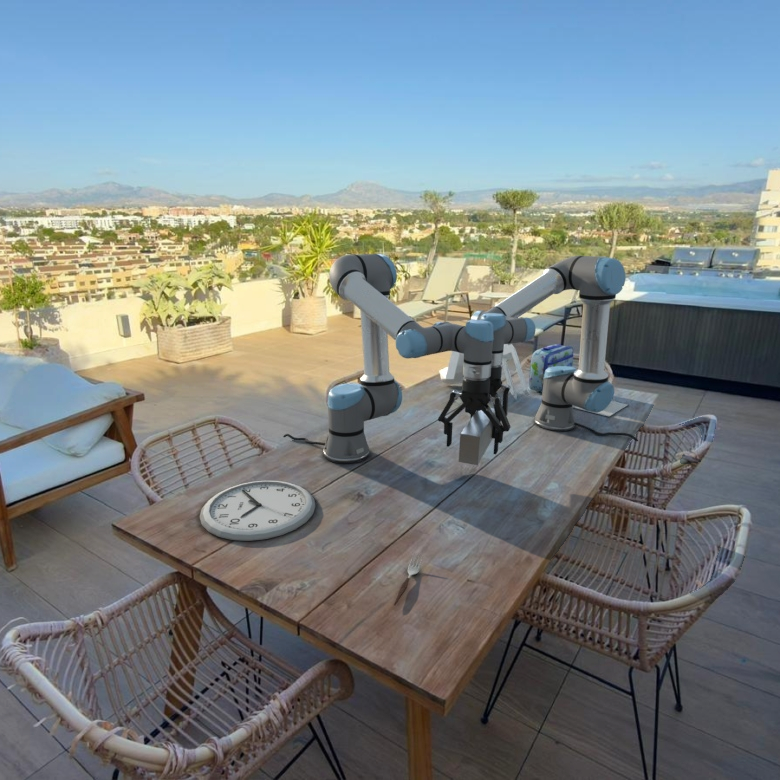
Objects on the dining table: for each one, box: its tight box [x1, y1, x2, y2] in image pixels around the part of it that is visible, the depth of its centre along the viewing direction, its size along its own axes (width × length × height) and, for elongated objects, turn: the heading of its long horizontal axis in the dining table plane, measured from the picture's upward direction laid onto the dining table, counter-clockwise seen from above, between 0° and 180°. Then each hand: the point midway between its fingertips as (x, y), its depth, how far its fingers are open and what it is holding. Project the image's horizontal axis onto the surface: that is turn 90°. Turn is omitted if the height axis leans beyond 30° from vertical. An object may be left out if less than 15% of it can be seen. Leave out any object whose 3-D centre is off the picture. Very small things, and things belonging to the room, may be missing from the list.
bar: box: [458, 407, 496, 466], centre depth 157 cm, size 25×6×9 cm, turn 158°
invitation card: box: [573, 400, 629, 418], centre depth 226 cm, size 21×1×15 cm
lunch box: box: [528, 344, 574, 393], centre depth 247 cm, size 26×11×21 cm, turn 134°
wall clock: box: [199, 480, 316, 542], centre depth 140 cm, size 30×2×30 cm
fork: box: [393, 553, 424, 606], centre depth 112 cm, size 3×16×2 cm, turn 160°
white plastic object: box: [438, 343, 531, 400], centre depth 245 cm, size 37×45×31 cm
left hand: (471, 448), depth 150 cm, fingers open, 13 cm apart
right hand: (484, 435), depth 166 cm, fingers closed on bar, 6 cm apart
